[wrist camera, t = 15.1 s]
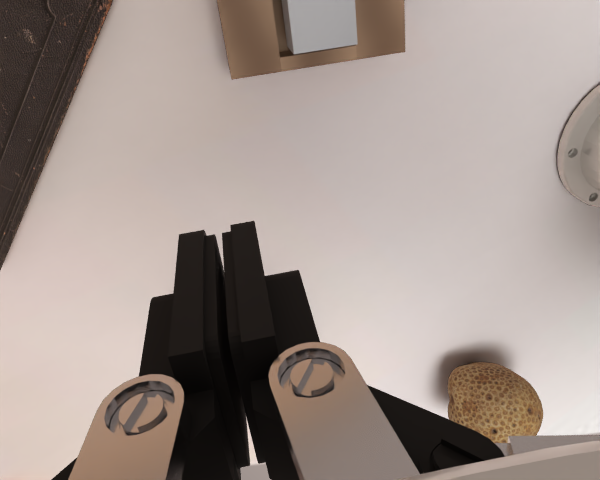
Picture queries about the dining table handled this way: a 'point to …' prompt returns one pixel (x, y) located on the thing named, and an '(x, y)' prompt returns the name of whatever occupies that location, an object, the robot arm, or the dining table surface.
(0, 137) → the hardcover book
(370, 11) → the wooden key base
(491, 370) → the natural sponge
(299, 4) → the slate key
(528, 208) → the dining table surface
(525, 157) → the dining table surface
